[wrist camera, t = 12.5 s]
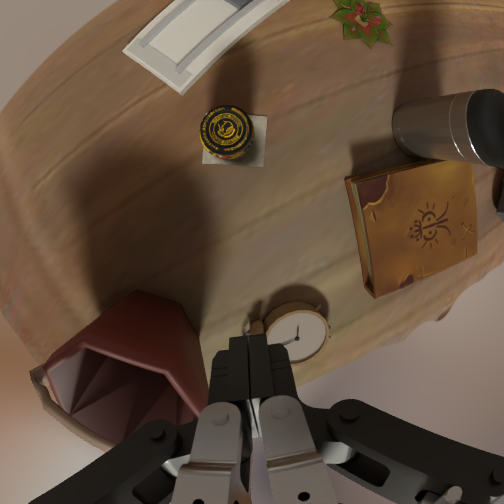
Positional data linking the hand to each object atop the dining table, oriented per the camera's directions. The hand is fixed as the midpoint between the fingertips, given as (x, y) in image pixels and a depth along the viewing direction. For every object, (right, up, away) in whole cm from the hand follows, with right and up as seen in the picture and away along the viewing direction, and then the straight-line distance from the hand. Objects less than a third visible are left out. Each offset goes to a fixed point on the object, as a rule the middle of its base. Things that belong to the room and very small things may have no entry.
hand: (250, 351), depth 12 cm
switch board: (-6, +38, +20) cm, 43 cm away
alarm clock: (+5, -10, +37) cm, 39 cm away
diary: (+27, +10, +32) cm, 43 cm away
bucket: (-17, -9, +35) cm, 40 cm away
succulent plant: (+18, +41, +21) cm, 50 cm away
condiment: (-2, +20, +26) cm, 33 cm away
